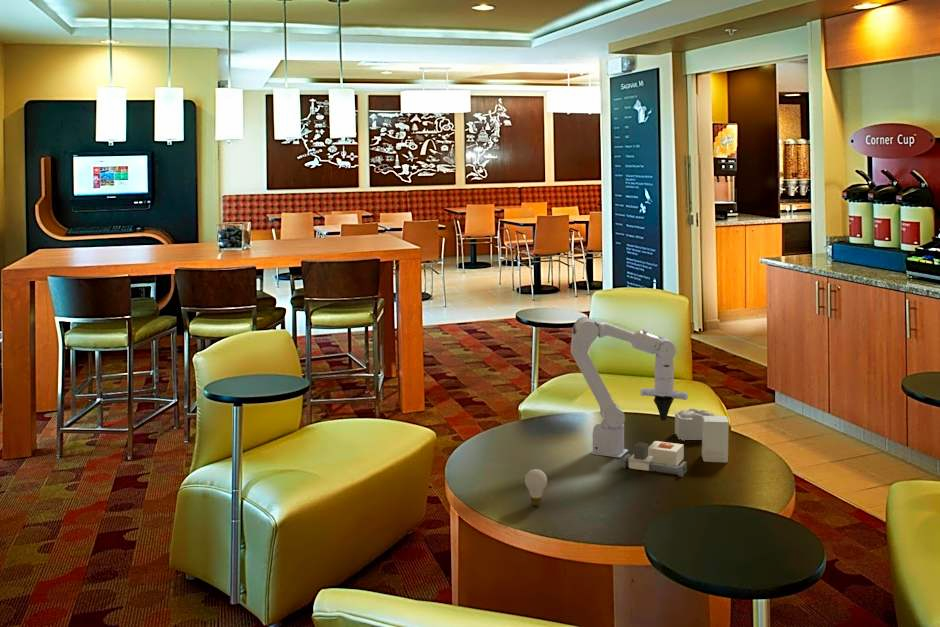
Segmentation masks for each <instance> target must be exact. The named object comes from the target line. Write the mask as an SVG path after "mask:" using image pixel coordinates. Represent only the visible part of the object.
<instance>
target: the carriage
mask: <svg viewBox="0 0 940 627" xmlns="http://www.w3.org/2000/svg"><path fill="white" fill-rule="evenodd" d="M648 447H649V443H648V442H642V441H641V442H640V441H638V442H636V443H635V444H634V445H633V454H631V457H630V458H629V468H628V469H633V470H641V471H648V472H649V463H650V462H653V456H648Z"/></svg>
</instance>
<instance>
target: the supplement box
mask: <svg viewBox="0 0 940 627" xmlns="http://www.w3.org/2000/svg"><path fill="white" fill-rule="evenodd" d="M729 423H730V422H729V420H728V416H726V415H716V416H703V420H702V441H701V457H702V460H703V462H704V463H705V462H706V463H729V428H730V427H729V425H730V424H729Z"/></svg>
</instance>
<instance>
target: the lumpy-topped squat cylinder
mask: <svg viewBox="0 0 940 627" xmlns="http://www.w3.org/2000/svg"><path fill="white" fill-rule="evenodd" d="M703 416H717V415H716V414H714V413H712V412H709V411H708V410H706V409H700V410H699V409H696V408H695V407H691V408H689V409H688V410H687V409H684V410H680V411H678V412H675V414H674V435H675V434H676V435H677V436H676V435H675V436H676V437H678V438H677V439H678V440H680V439H681V440H680V441H685V440H702V420H703Z"/></svg>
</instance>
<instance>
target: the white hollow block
mask: <svg viewBox="0 0 940 627" xmlns="http://www.w3.org/2000/svg"><path fill="white" fill-rule="evenodd" d="M660 443H670V444H671V449H666V448H660ZM684 454H685V444H683V443H682V444H681V443H673V442H665V441H659V440H654V441H653V442H652V443H651V444H650V445H648V456H653V462H657V463H664V464H672V465H680V464H681V463H682V462H683V460H684Z"/></svg>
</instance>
